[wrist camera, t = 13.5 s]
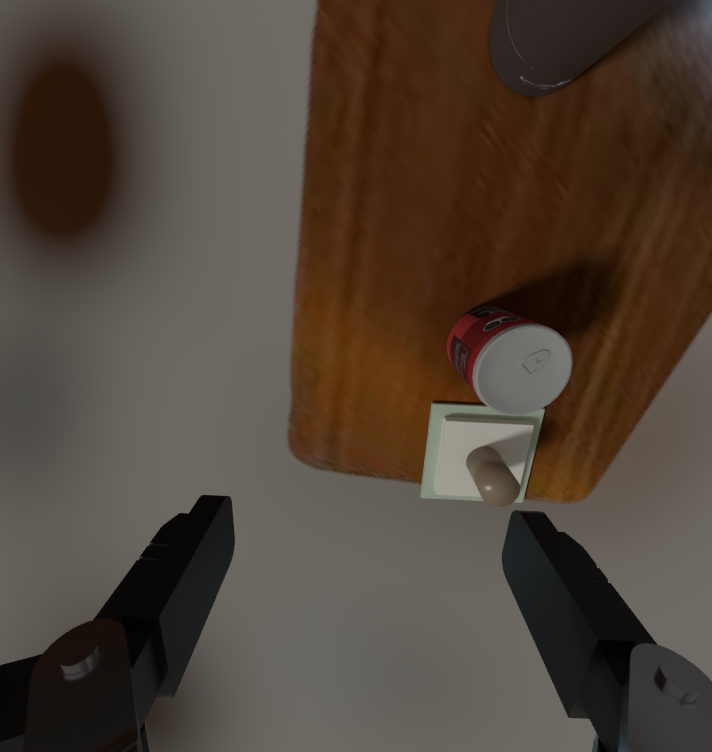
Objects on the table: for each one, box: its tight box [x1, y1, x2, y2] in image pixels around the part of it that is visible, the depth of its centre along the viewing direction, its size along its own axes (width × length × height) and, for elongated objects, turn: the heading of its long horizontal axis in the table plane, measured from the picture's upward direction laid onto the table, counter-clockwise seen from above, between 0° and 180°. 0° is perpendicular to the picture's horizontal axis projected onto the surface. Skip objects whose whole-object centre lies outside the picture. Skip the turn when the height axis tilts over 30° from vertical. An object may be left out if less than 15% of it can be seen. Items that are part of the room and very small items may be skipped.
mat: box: [420, 402, 545, 503], centre depth 43 cm, size 13×13×1 cm
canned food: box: [447, 307, 573, 416], centre depth 34 cm, size 8×8×11 cm
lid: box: [434, 417, 534, 507], centre depth 40 cm, size 10×10×7 cm
